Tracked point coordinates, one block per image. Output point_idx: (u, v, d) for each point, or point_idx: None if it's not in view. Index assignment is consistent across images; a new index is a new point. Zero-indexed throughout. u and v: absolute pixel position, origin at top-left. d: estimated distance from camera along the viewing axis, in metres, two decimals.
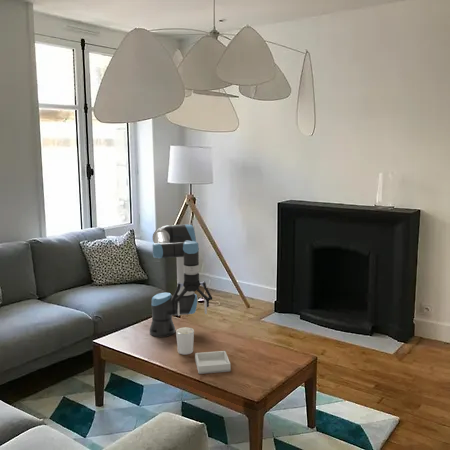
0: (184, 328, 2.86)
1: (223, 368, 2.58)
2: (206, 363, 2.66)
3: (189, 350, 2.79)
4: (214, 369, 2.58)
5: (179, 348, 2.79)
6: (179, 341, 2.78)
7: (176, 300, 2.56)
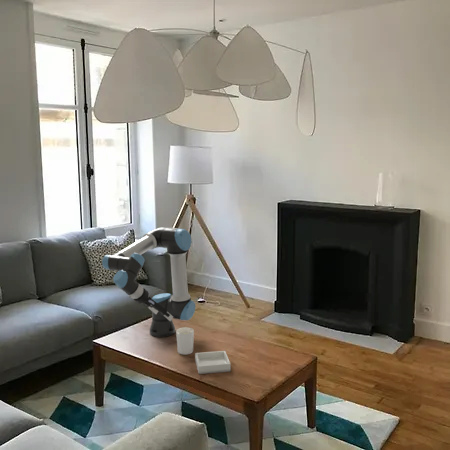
0: (184, 328, 2.86)
1: (223, 368, 2.58)
2: (206, 363, 2.66)
3: (189, 350, 2.79)
4: (214, 369, 2.58)
5: (179, 348, 2.79)
6: (179, 341, 2.78)
7: (145, 305, 2.72)
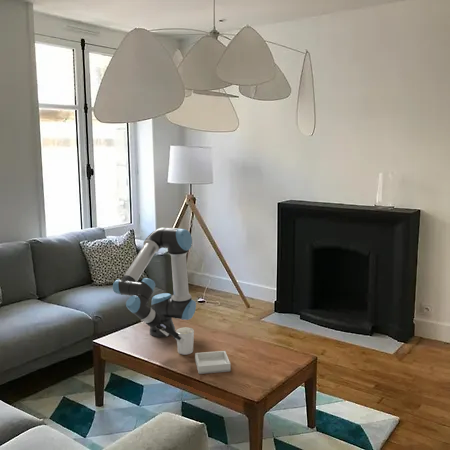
0: (184, 328, 2.86)
1: (223, 368, 2.58)
2: (206, 363, 2.66)
3: (189, 350, 2.79)
4: (214, 369, 2.58)
5: (179, 348, 2.79)
6: None
7: (157, 328, 2.78)
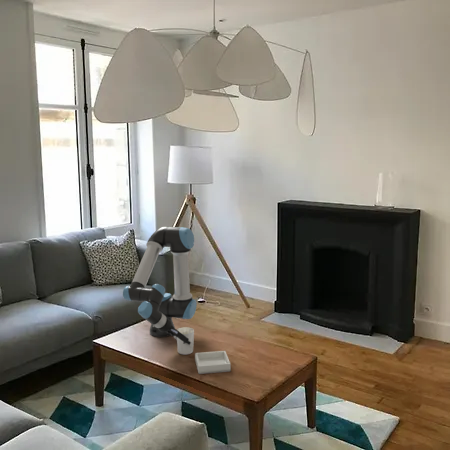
0: (184, 328, 2.86)
1: (223, 368, 2.58)
2: (206, 363, 2.66)
3: (189, 350, 2.79)
4: (214, 369, 2.58)
5: (179, 347, 2.79)
6: (179, 341, 2.78)
7: None
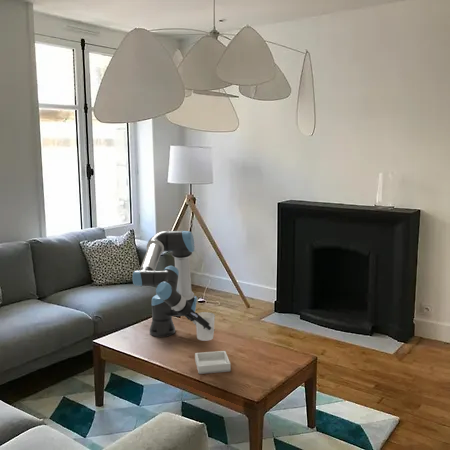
0: (204, 313, 2.67)
1: (223, 368, 2.58)
2: (206, 363, 2.66)
3: (209, 336, 2.61)
4: (214, 369, 2.58)
5: (199, 333, 2.61)
6: (199, 326, 2.60)
7: (189, 319, 2.65)
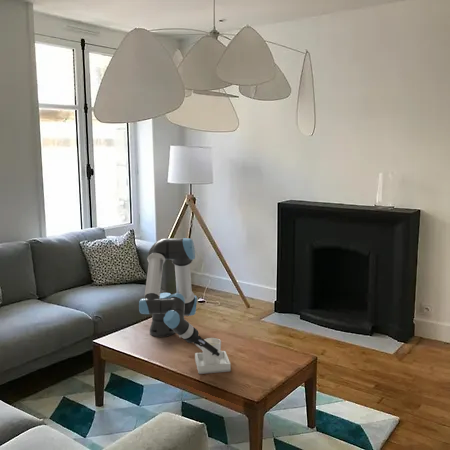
0: (210, 339, 2.68)
1: (223, 368, 2.58)
2: None
3: (216, 362, 2.62)
4: (214, 369, 2.58)
5: (205, 360, 2.62)
6: (205, 353, 2.61)
7: (193, 343, 2.66)
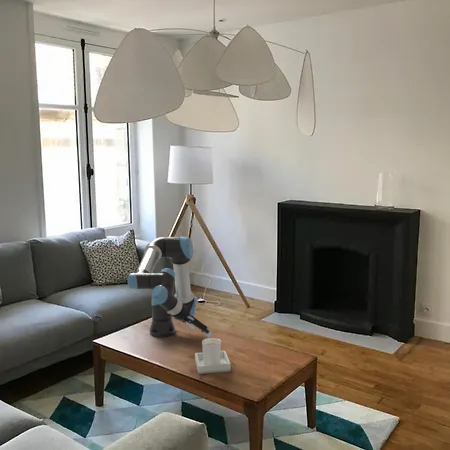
0: (210, 339, 2.68)
1: (223, 368, 2.58)
2: None
3: (216, 362, 2.62)
4: (214, 369, 2.58)
5: (205, 360, 2.62)
6: (205, 353, 2.61)
7: (182, 321, 2.59)
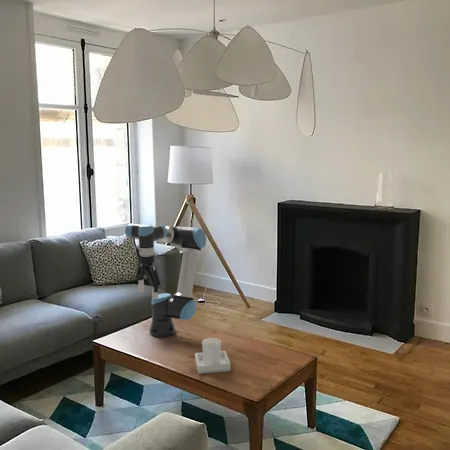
0: (210, 339, 2.68)
1: (223, 368, 2.58)
2: None
3: (216, 362, 2.62)
4: (214, 369, 2.58)
5: (205, 360, 2.62)
6: (205, 353, 2.61)
7: (137, 277, 2.73)
